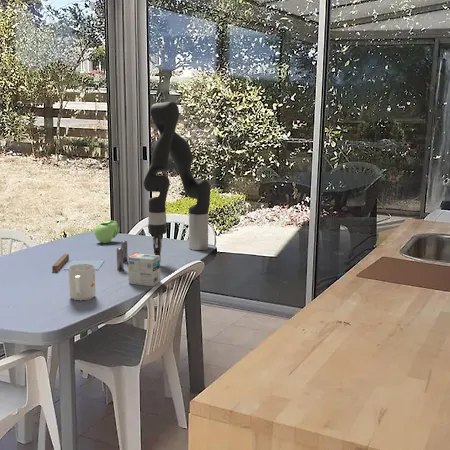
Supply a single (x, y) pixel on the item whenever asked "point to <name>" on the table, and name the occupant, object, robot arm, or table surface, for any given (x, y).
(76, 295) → the mug
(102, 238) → the green rounded piece
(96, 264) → the light blue tilted panel
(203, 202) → the robot arm
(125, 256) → the far post
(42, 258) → the table surface
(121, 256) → the near post
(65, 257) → the stopper wall
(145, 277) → the light bulb box
